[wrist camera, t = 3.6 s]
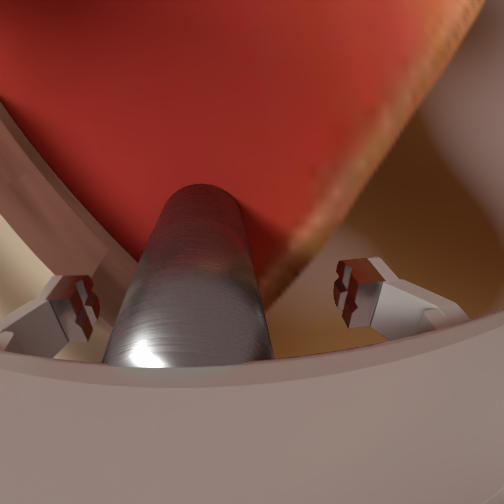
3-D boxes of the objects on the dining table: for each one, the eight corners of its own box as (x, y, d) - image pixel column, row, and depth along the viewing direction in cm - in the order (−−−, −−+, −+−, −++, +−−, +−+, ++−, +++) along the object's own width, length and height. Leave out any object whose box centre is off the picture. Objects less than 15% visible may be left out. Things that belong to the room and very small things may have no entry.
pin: (197, 273, 15) (189, 459, 7) (144, 219, 14) (63, 394, 5) (259, 229, 15) (316, 411, 6) (207, 166, 13) (189, 313, 4)
